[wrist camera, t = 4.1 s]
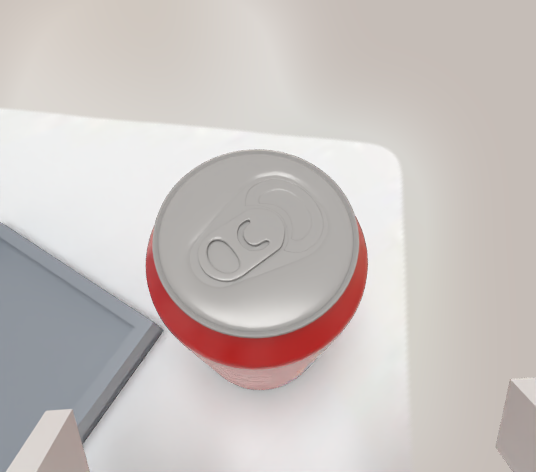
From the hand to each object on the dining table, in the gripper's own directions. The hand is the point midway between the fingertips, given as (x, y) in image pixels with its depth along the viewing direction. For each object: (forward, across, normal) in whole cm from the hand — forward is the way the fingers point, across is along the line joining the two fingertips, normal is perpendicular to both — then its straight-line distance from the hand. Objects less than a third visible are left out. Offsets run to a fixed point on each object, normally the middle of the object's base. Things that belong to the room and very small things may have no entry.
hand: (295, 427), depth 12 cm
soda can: (+13, -1, -5) cm, 14 cm away
